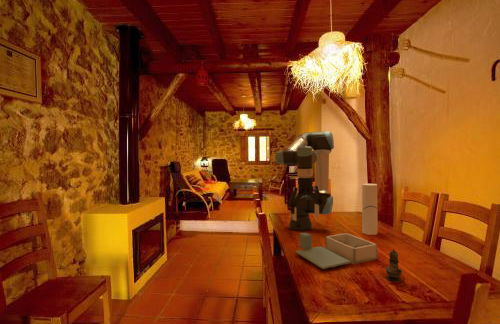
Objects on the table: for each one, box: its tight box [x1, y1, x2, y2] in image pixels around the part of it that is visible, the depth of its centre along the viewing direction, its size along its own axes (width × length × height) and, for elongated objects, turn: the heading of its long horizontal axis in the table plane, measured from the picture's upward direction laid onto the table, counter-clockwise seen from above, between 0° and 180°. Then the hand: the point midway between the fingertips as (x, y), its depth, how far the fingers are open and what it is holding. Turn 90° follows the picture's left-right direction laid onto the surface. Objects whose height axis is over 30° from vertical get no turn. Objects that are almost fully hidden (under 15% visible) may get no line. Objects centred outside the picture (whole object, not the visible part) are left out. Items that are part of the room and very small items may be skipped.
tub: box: [324, 232, 378, 265], centre depth 132 cm, size 20×14×7 cm
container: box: [361, 183, 379, 236], centre depth 166 cm, size 9×9×30 cm
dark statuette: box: [385, 248, 403, 283], centre depth 106 cm, size 6×6×12 cm
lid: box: [295, 232, 351, 270], centre depth 128 cm, size 26×15×9 cm, turn 22°
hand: (305, 218), depth 138 cm, fingers open, 13 cm apart
